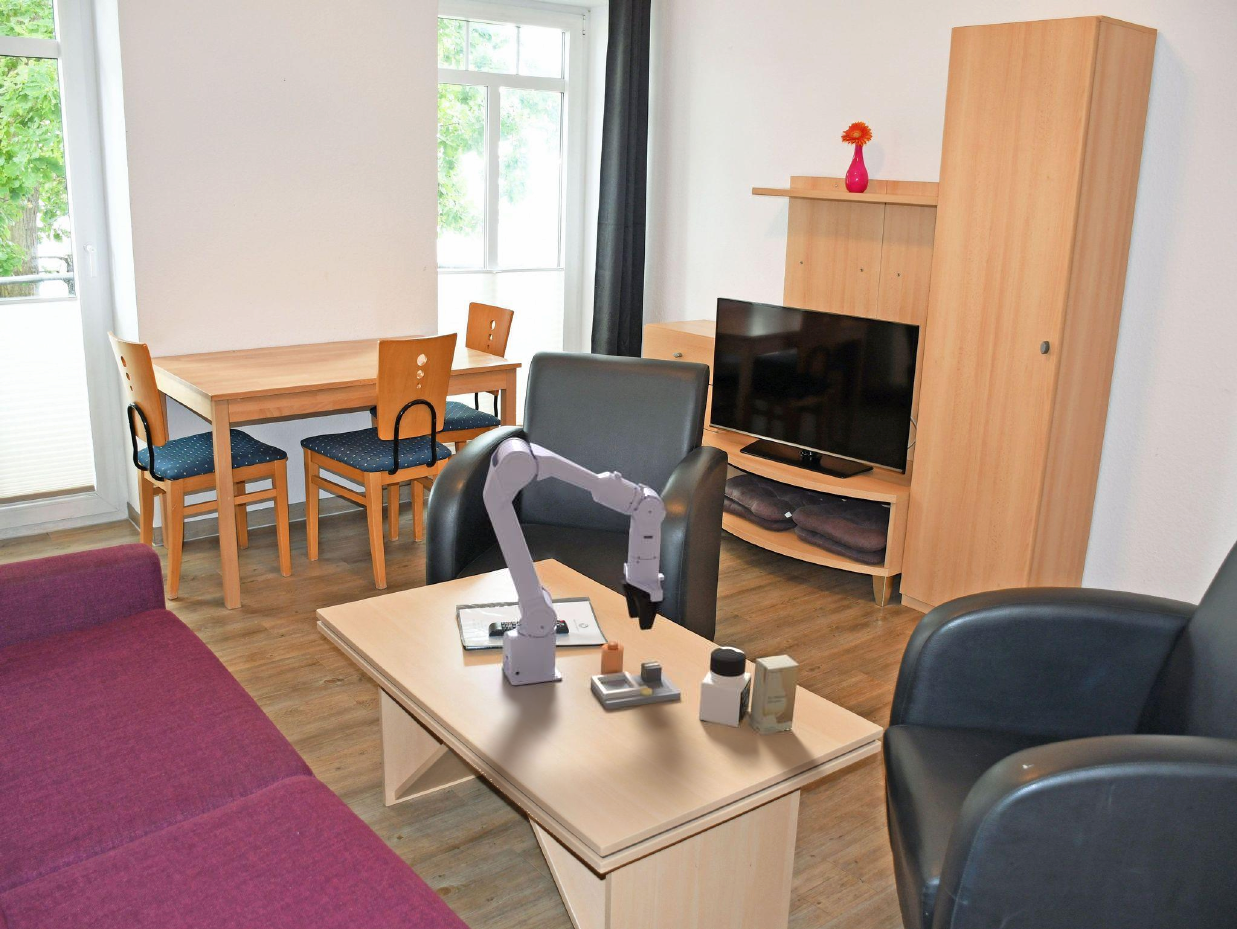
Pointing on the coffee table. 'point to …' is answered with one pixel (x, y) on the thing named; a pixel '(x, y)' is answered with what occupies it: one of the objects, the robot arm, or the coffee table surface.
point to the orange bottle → (612, 658)
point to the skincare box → (773, 694)
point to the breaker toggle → (651, 671)
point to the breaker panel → (632, 690)
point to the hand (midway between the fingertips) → (640, 623)
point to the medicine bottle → (725, 688)
